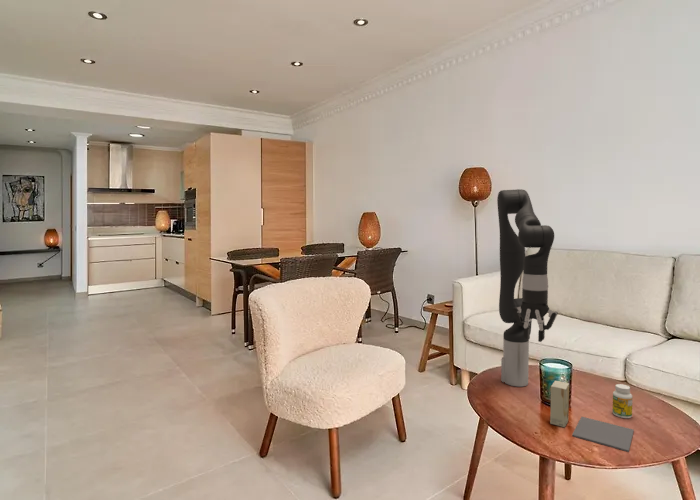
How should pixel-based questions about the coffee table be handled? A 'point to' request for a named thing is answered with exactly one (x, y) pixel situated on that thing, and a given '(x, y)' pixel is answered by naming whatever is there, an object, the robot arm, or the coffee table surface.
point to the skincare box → (559, 403)
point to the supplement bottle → (622, 401)
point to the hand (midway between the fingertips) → (534, 339)
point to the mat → (604, 433)
